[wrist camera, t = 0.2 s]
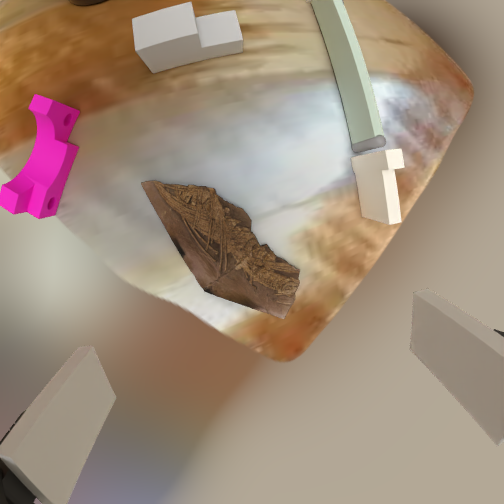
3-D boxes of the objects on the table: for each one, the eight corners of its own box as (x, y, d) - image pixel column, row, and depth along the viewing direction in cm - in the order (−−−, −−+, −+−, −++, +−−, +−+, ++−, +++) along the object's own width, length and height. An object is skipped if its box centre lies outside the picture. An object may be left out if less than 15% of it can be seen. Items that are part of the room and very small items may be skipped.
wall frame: (292, -32, 29) (304, -71, 20) (305, -32, 29) (318, -70, 20) (360, 217, 38) (396, 227, 29) (373, 214, 38) (411, 224, 29)
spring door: (310, 2, 31) (321, -24, 24) (327, 2, 31) (340, -23, 24) (353, 153, 36) (376, 147, 29) (370, 151, 36) (395, 145, 29)
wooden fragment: (318, 289, 40) (319, 292, 39) (257, 338, 42) (257, 342, 41) (180, 144, 35) (178, 143, 34) (124, 205, 37) (121, 206, 36)
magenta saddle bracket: (55, 215, 36) (25, 222, 29) (28, 199, 36) (-3, 203, 28) (93, 116, 34) (66, 104, 26) (63, 105, 33) (34, 94, 26)
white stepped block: (149, 45, 32) (132, 18, 24) (235, 24, 32) (235, -7, 24) (153, 73, 33) (135, 50, 25) (242, 52, 33) (243, 24, 25)
